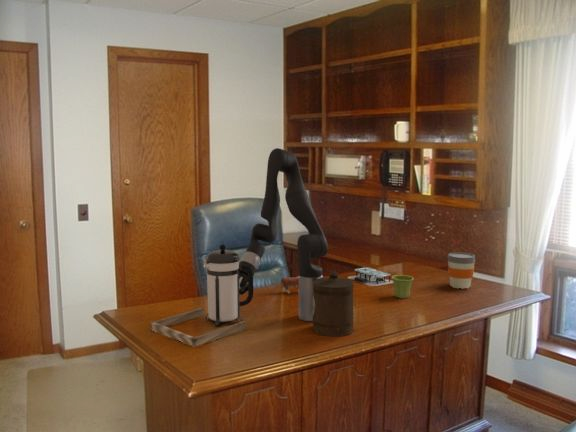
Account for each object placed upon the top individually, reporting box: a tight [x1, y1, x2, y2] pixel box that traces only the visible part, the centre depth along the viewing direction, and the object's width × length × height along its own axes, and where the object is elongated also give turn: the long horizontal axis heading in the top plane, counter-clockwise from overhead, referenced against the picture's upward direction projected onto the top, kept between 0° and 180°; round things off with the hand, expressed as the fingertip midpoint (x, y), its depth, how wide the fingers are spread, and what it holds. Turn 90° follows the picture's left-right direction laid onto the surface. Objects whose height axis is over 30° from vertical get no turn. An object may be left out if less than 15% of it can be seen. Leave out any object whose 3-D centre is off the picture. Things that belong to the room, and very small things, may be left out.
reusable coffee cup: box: [447, 252, 476, 290], centre depth 272 cm, size 13×13×15 cm
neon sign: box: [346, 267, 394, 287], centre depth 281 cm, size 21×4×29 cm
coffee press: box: [203, 244, 254, 328], centre depth 221 cm, size 17×16×30 cm
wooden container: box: [312, 270, 355, 337], centre depth 211 cm, size 15×15×22 cm
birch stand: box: [149, 307, 247, 346], centre depth 212 cm, size 25×24×3 cm
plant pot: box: [391, 274, 414, 299], centre depth 255 cm, size 9×9×9 cm
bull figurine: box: [280, 276, 299, 295], centre depth 261 cm, size 4×13×8 cm, turn 89°
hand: (230, 301), depth 228 cm, fingers closed
